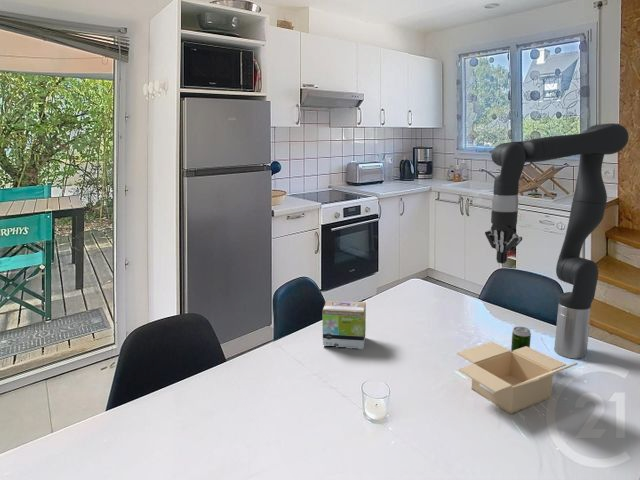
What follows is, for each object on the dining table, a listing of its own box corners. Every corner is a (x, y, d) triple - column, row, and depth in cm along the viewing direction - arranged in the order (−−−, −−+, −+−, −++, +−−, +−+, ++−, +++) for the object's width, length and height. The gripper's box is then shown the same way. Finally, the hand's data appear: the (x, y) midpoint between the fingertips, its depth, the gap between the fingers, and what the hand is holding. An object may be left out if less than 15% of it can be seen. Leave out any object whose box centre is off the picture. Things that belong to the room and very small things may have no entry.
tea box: (322, 348, 156) (321, 309, 153) (326, 336, 166) (325, 299, 162) (364, 350, 153) (364, 311, 150) (366, 337, 163) (365, 300, 160)
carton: (504, 360, 143) (506, 336, 141) (564, 391, 125) (567, 364, 123) (439, 383, 131) (440, 357, 129) (495, 421, 113) (497, 392, 111)
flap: (552, 370, 120) (577, 362, 113) (553, 372, 120) (577, 364, 113) (514, 385, 114) (538, 377, 107) (515, 386, 113) (539, 379, 107)
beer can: (522, 370, 137) (524, 335, 134) (506, 363, 141) (509, 329, 139) (531, 365, 140) (534, 330, 137) (516, 358, 144) (518, 325, 142)
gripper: (531, 210, 130) (527, 265, 134) (496, 205, 142) (493, 256, 145) (514, 212, 127) (510, 269, 131) (479, 207, 138) (476, 259, 142)
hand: (501, 262), depth 138 cm, fingers closed
